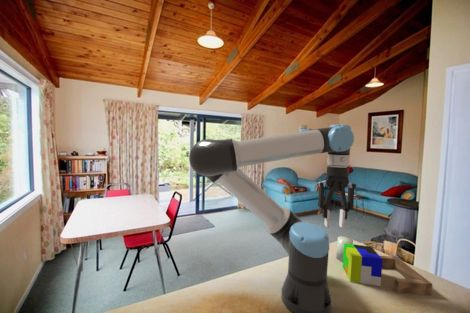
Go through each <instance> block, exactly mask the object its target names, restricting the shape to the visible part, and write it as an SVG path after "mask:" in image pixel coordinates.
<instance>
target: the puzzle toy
mask: <svg viewBox="0 0 470 313" xmlns="http://www.w3.org/2000/svg"><path fill="white" fill-rule="evenodd" d="M380 256H381V255H380V254H378V253H377V251H375V249H374V248H373V247H372V246H370V245H361V244H354V243H353V244H345V243H344V254H343V262H342V268H343V270H344V273H345V274H346V276H347V278H348V280H349V282H350V283H358V284H364V285H370V286H377V287H381V285H382V274H383V273H382V272H383V271H382V270H383V267H382V261H383V259H382V258H381V257H380Z"/></svg>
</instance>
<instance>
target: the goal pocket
mask: <svg viewBox="0 0 470 313" xmlns="http://www.w3.org/2000/svg"><path fill="white" fill-rule="evenodd" d="M379 256H380V257H381V258H382V259H383V261H382V269H383V268H385V269H394V270H395V271H397V272H398V273H399V274H400V275H401V276H403V277H404V278H399V277H398V278H397V277H396V278H394V282H393V283H394V284H393V290H394V291H395V292H396V293H397V294H404V295H405V294H406V295H418V296H419V295H423V296H432V294H433V283H432V282H431V281H429V280H428V279H426V278H425V277H424V276H423V275H421V274H420V273H418V272H417V271H416V270H415V269H414V268H413V267H411V266H410V265H408V264H407V263H406V262H404V261H403V260H401V259H400V258H399V257H397V256H390V255H379Z"/></svg>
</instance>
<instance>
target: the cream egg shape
mask: <svg viewBox="0 0 470 313" xmlns="http://www.w3.org/2000/svg"><path fill="white" fill-rule="evenodd" d="M344 243H345V244H354V240H353V239H352V238H350V237H349V236H348V237H347V236H341V235H340V236H337V242H336V244H337V245H336V260H337V261H339V262H341V263H343V254H344Z"/></svg>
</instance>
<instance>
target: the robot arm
mask: <svg viewBox="0 0 470 313" xmlns="http://www.w3.org/2000/svg"><path fill="white" fill-rule="evenodd" d="M354 141H355V136H354V132H353V131H352V127H351V126H350V124H330V126H329V127H324V128H322V127H321V128H302V129H300V130H299V131H296V132H290V133H283V134H277V135H271V136H264V137H263V136H262V137H257V138H251V139H245V140H238V141H236V140H235V139H234V138H228V139H210V138H207V139H206V138H205V139H201V140H200V141H198V142H197V141H196V143H195V144H194V145H193V146H192V147H191V148H190V151H189V156H188V161H189V165H190V167H191V168H192V170H193V171H194V172H195V173H196V174H198V175H200V176H203V177H206V178H207V179H208V180H209V181H210V182H211V183H213V184H220V185H221V186H223V187H224V188H225V189H226V190H227V191H228V192H229V193H230V194H232V196H233V197H235V198H236V199H237V201H239V202H240V203H241V204H243V205H244V206H245V208H247V209H248V210H249V211H250V212H251V213H252V214H253V215H254V216H256V217H257V218H258V219H259V220H260V221H261V222H262V223H263V224H264V225H266V226H265V227H266V232H267V233H269V235H271V237H273V238H274V239H275V241H277V242H278V243H279V244H280V245H281V246H282V248H283V249H284V250H285V253H287V255H288V261H287V262H288V265H287V267H288V269H287V273H286V274H287V275H286V277H285V279H284V281H283V284H282V287H281V292H280V293H281V294H280V295H281V302H282V303H283V305H284V306H285V307H286V308H287V309H288V310H289V309H290V310H291V311H290V310H289V311H290V312H292V311H293V312H295V313H331V312H332V304H333V303H332V297H331V296H332V295H331V293H330V289H329V285H328V282H327V281H328V280H327V279H328V263H329V251H330V239H329V235H328V233H327V231H326V230H324V228H323V227H321V226H319V225H316V224H314V223H311V222H307V221H303V220H302V219H301V218H300V217H299V216H298V215H296V214H295V212H293V211H292V210H291V209H290V208H288V207H286V206H284V207H281V205H280V204H278V203H277V202H276V201H275V200H274V199H273V198H272V197H271V196H269V195H268V193H266V192H265V191H264V190H263V188H261V187H260V186H259V185H258V184H257V183H256V182H255V181H254V180H253V179H251V177H249V175H247V174H246V173H245V172H244V171H243V170H242V169H240V168H241V167H246V166H252V165H257V164H258V165H259V164H264V163H271V162H276V161H282V160H287V159H288V160H289V159H294V158H300V157H305V156H310V155H311V156H312V155H316V154H317V155H318V154H324V153H327V161H326V165H327V167H326V177H325V179H324V180H323V181H317V185H318V199H317V206H318V208H320V209H322V214H321V215H322V218H323V219H324V223H323V224H324V225H323V226H325V228H330V218H331V217H330V214H331V210H329V207H330V204H331V201H332V198H333V194H334V193H335V192H338V193H339V197H340V198H339V199H340V204H341V209H339V219H338V220H339V221H338V226H339V227H340V228H341V229H345V224H346V223H345V222H346V220H347V219H348V212H349V211H352V210H354V204H355V189H356V187H357V184H356V183H354V182H350V180H349V176H350V175H349V172H350V168H349V166H350V156H351V155H350V154H351V148H352V146H353V144H354ZM326 186H327V190H326V191H327V192H326V195H325V187H326ZM346 187H347V196H346ZM293 312H292V313H293Z"/></svg>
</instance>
